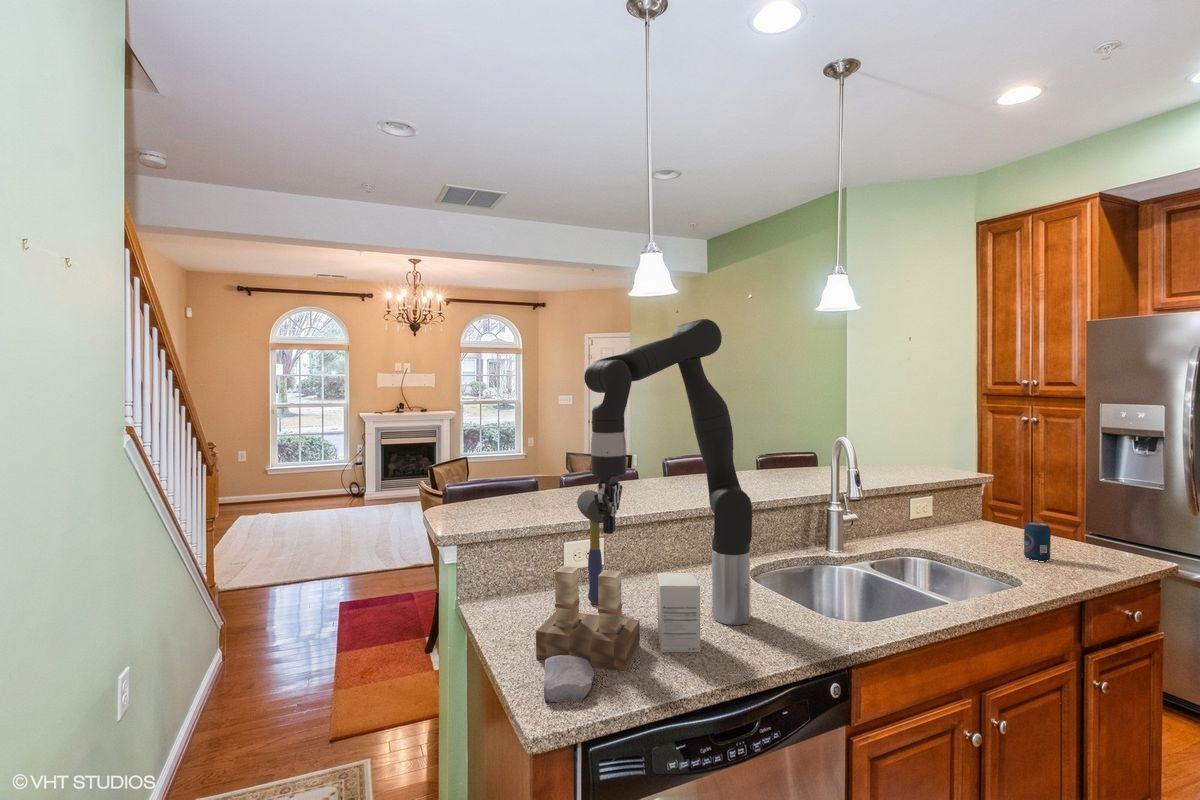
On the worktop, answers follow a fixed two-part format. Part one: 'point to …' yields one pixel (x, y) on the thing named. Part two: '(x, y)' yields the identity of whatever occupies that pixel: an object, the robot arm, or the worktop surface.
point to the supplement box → (678, 612)
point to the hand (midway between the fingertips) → (609, 532)
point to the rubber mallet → (592, 540)
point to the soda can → (1037, 541)
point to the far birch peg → (567, 597)
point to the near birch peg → (610, 602)
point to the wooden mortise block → (590, 642)
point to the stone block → (567, 678)
